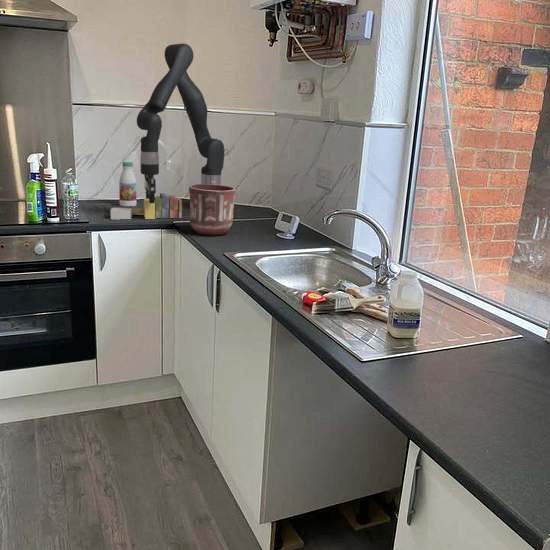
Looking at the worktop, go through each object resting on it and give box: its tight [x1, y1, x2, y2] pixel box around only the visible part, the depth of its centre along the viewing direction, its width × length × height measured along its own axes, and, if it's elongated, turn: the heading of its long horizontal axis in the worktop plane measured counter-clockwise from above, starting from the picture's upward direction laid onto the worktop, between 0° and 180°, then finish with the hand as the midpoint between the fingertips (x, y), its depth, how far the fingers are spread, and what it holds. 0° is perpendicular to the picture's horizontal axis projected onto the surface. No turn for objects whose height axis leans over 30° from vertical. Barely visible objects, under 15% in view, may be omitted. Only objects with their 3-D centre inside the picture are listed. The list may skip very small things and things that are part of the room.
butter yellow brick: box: [143, 198, 156, 220], centre depth 242 cm, size 4×5×8 cm
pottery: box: [188, 183, 237, 237], centre depth 222 cm, size 18×18×18 cm
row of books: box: [109, 192, 183, 219], centre depth 243 cm, size 30×8×10 cm, turn 110°
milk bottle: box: [118, 161, 137, 208], centre depth 264 cm, size 8×8×20 cm
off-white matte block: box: [110, 207, 133, 220], centre depth 239 cm, size 8×6×4 cm
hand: (150, 201), depth 241 cm, fingers open, 8 cm apart
